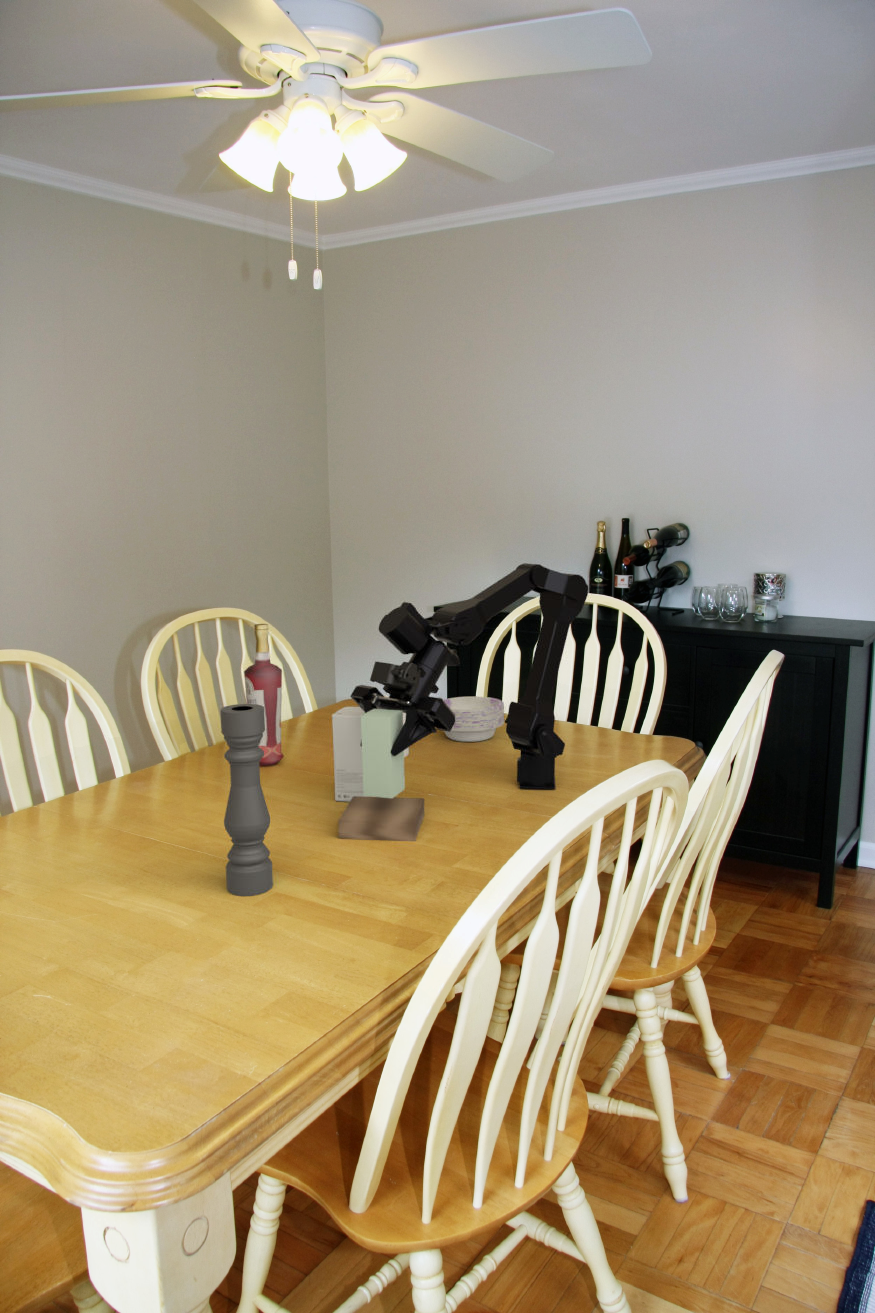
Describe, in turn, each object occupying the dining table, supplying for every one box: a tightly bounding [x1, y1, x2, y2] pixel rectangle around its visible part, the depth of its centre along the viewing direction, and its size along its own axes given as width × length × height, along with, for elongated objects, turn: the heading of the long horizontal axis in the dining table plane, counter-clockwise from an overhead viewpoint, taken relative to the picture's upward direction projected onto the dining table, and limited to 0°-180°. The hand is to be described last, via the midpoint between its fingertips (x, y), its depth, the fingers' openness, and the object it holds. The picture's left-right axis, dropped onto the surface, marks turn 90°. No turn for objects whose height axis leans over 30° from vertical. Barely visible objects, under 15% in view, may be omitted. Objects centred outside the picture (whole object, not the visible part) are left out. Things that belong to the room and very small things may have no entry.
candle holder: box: [220, 703, 274, 897], centre depth 128 cm, size 6×6×25 cm
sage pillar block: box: [361, 709, 406, 798], centre depth 151 cm, size 5×5×13 cm
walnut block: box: [337, 796, 425, 842], centre depth 153 cm, size 12×12×3 cm
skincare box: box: [331, 706, 373, 803], centre depth 168 cm, size 8×7×16 cm
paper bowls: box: [443, 696, 505, 743], centre depth 209 cm, size 15×15×8 cm
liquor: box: [243, 623, 284, 767], centre depth 188 cm, size 7×7×28 cm
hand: (377, 751), depth 150 cm, fingers closed on sage pillar block, 6 cm apart
